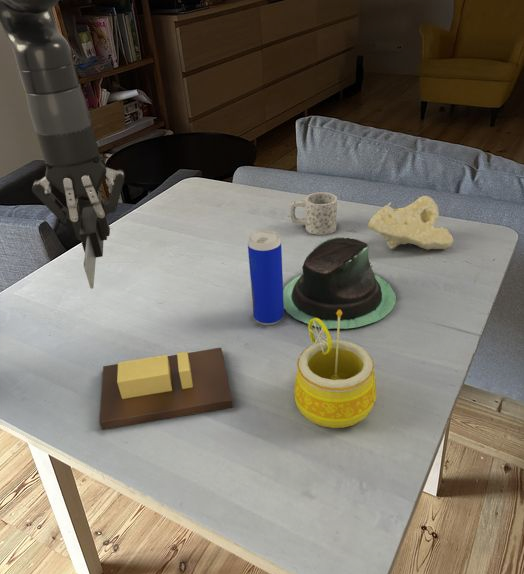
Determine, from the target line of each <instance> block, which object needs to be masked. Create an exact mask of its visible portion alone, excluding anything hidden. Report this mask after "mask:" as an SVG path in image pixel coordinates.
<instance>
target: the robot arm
mask: <svg viewBox="0 0 524 574" xmlns="http://www.w3.org/2000/svg"><path fill="white" fill-rule="evenodd" d="M58 2H59V0H0V25H1V28H2V30H3V32H4V34H5V36H6V38H7V40H8V43H9V44H10V47H11V49H12V52H13V55H14V60H15V63H16V67H17V70H18V74H19V77H20V80H21V84H22V87H23V89H24V94H25V97H26V103H27V108H28V113H29V116H30V120H31V122H32V125H33V129H34V133H35V136H36V137H37V138H36V139H37V141H38V144H39V147H40V151H41V154H42V157H43V160H44V164H45V174H44V176H43V177H42V178H41V179H36V180H34V182H33V184H32V187H31V192H32V193H33V194H34V195H35V196H36V197H37V198H38V199H39V201H40V202H42V204H44V206H45V207H46V208H47V209H48V210H49V211H50V212H51V213H52V214H53V215H54V216H55V218H57V220H68V221H70V222H71V225H72V228H73V231H74V234H75V236H76V237H75V238H76V239H77V240H78V241H81V239H80V236H79V234H80V227H81V221H82V215H81V213H80V207H79V198H82V197H83V198H84V197H85V198H88V200H89V202H90V204H91V205H92V206H93V207H94V210H95V212H96V214H97V218H96V220H97V223H98V226H99V230H100V234H101V237H102V240H104V241H107V240H108V237H110V234H111V228H110V223H109V219H108V215H109V214H111V213H115V212H116V211H117V208H118V203H119V200H120V197H121V193H122V190H123V186H124V182H125V172H124V170H123V169H117V170H116V169H113V168H110V167H107V164H106V163H105V162H104V161H103V159H102V158H101V154H100V151H99V146H98V141H97V139H96V138H97V137H96V135H95V131H94V126H93V122H92V115H91V112H90V110H89V107H88V102H87V99H86V96H85V94H84V92H83V89H82V85H81V83H80V78H79V74H78V71H77V67H76V63H75V58H74V55H73V51H72V49H71V46H70V44H69V42H68V40H67V39H66V37H64V35H62V34H61V32H60V31H59V28H58V26H57V23H56V20H55V17H54V14H53V11H52V9H53V8H55V7H56V5H57V4H58ZM105 177H107V178H108V179H107V180H108V184H109V185H110V186H111V188H110V193H109V196H108V201H105V202H104V201H103V200H104V199H103V198H102V193H101V191H100V188H101V186H102V184H103V181H104V179H105ZM52 186H53V187H55V188H56V189H57V190H58V191H59V192H60V193H62V195H64V196H65V199H66V200H65V201H66V206H67V207H66V206H65V205H64V204H63V203H62V202H61V201H60V200H59V198H58V197H56V195H55V194H54V193H53V192H52V189H53V188H52Z"/></svg>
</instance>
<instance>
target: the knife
mask: <svg viewBox="0 0 524 574" xmlns="http://www.w3.org/2000/svg"><path fill="white" fill-rule="evenodd" d="M81 216H82V221H81V227H80V234H79V236H80V239H81V240H80V242H81V246H82V248H83V252H84V258H83V268H84V272H85V275H86V278H87V282H88V284H89V289H94V287H95V286H94V285H95V273H96V263H97V261H96V260H97V258H101V257H103V255H104V242H105V240H102V237H101V234H100V230H99V226H98V223H97V220H96V218H97V214H96V212H95V210H94V207H93V205H92V206H85V207H83V208H82V215H81Z"/></svg>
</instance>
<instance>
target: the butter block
mask: <svg viewBox="0 0 524 574" xmlns="http://www.w3.org/2000/svg"><path fill="white" fill-rule="evenodd" d="M168 356H169V355H168V354H163V355H156V356H149V357H142V358H136V359H130V360H125V361H118V362H117V364H118V376H117V383H118V387H119V390H120V393H121V397H122V399H126V398H132V397H138V396H144V395H150V394H156V393H162V392H168V391H172V380H171V370H170V365H169V361H168Z"/></svg>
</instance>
